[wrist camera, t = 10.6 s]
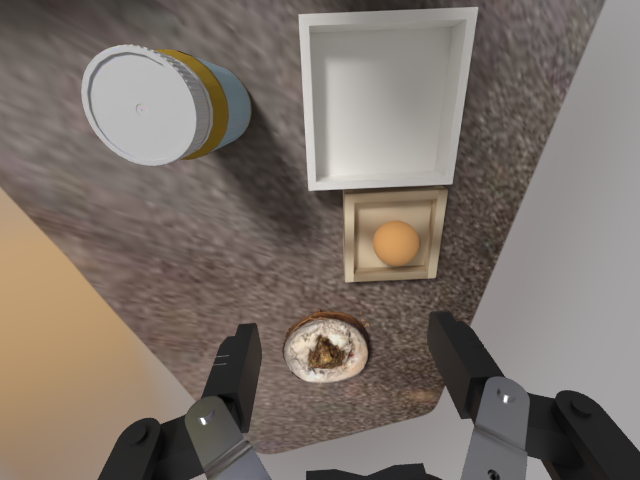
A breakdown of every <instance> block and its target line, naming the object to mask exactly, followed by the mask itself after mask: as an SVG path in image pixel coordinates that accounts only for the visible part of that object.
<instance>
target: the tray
mask: <svg viewBox="0 0 640 480" xmlns="http://www.w3.org/2000/svg"><path fill="white" fill-rule="evenodd" d="M447 195H448V189H446V188H445V187H443V186H442V185H424V186H401V187H379V188H357V189H343V269H344V278H345V282H362V281H383V280H405V279H426V278H436V272H437V265H438V258H439V251H440V244H441V237H442V230H443V223H444V216H445V209H446V202H447ZM390 221H402V222H405V223H407V224H409V225H410V226H412V227H413V228H414V229H415V231H416V232H417V235H418V237H419V249H418V252H417V254H416V256H415V257H414V258H413V259H412V260H411V261H410V262H408V263H406V264H404V265H400V266H393V265H388V264H386V263H384V262H382V261H381V260H380V259H379V258H378V257H377V255H376V254H375V252H374V249H373V238H374V235H375V233H376V231H377V230H378V228H379V227H380V226H382V225H383V224H385V223H387V222H390Z"/></svg>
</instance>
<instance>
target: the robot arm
mask: <svg viewBox="0 0 640 480" xmlns="http://www.w3.org/2000/svg"><path fill="white" fill-rule="evenodd" d="M427 342H428V347H429V350H430V352H431V355H432V357H433V359H434V361H435V363H436V365H437V368H438V370H439V372H440V374H441V376H442V378H443V381H444V383H445V385H446V387H447V389H448V391H449V393H450V396H451V398H452V400H453V402H454V404H455V407H456V409H457V411H458V413H459V415H460V417H461V419H467V418H468V419H469V418H471V419H472V421H473V423H474V429H473V433H472V437H471V441H470V445H469V449H468V453H467V457H466V460H465V464H464V468H463V472H462V476H461V480H525V478H526V467H527V456H530V457H534V458H537V459H541V461H542V462H543V465H544V466H545V468H546V470H547V472H548V473H549V475H550V477H551V479H552V480H640V452H639V450H638V449H637V448H636V447H635V446H634V445H633V443H632V442H631V441H630V440H629V439H628V438H627V436H626V435H625V434H624V433H623V432H622V431H621V429H620V428H619V427H618V426H617V425H616V424H615V422H614V421H613V420H612V419H611V418H610V417H609V415H608V414H607V413H606V412H605V411H604V410H603V408H602V407H601V406H600V405H599V404H597V403H596V402H595V401H594V400H592V399H591V398H589V397H588V396H585V395H584V394H581V393H579V392H575V391H570V390H564V391H561V392H559V393H558V394H557V395H556V398H555V399H554V398H549V397H544V396H539V395H534V394H531V393H528V392H526V391H525V390H524V389H523V387H521V386H520V385H519V384H518V383H516V382H515V381H513V380H511V379H508V378H506V377H505V376H504V375H503V373H502V372H501V370H500V369H499V367H498V366H497V364H496V363H495V362H494V360H493V358H492V357H491V355H490V354H489V353H488V351H487V350H486V348H484V345H483V344H482V342H481V341H480V340H479V338H478V337H477V335H476V334H475V332H474V331H473V329H472V328H470V327H469V326H468V325H467V324H465V323H464V322H463V321H457V322H456V320H455V319H454V317H453V316H452V314H451V313H450V311H448V310H447V311H432V312H431V313H430V318H429V326H428V334H427ZM261 360H262V349H261V343H260V338H259V333H258V329H257V325H256V323H250V324H239V326H238V328H237V332H236V335H235V336H231V337H227V338H226V339H225V340H224V341H223V343H222V344H221V345H220V347H219V350H218V352H217V355H216V358H215V361H214V365H213V366H212V369H211V372H210V375H209V378H208V380H207V383H206V386H205V389H204V392H203V394H202V397H201V399H200V400H198V401H197V402H195V403H194V404H193V405H192V406H191V407H190V409H189V410H188V412H187V414H185V415H184V416H181V417H179V418H176V419H174V420H171V421H168V422H165V423H163V424H159V422H158V421H157V420H156V419H154V418H144V419H141V420H138V421H136V422H134V423H133V424H131V425H130V426H129V427H128V428H126V429H125V430H124V431H123V432H122V434H121V435H120V436H119V438H118V440H117V442H116V444H115V446H114V448H113V450H112V452H111V454H110V456H109V458H108V460H107V462H106V464H105V466H104V468H103V470H102V472H101V474H100V476H99V478H98V480H190V479H192V478H194V477H196V476H199V475H201V474H203V473H205V475H206V477H207V480H271V478H270V476H269V474H268V473H267V471H266V469H265V468H264V466H263V464H262V462H261V461H260V459H259V457H258V456H257V454H256V452H255V450H254V449H253V447H252V445H251V444H250V442H249V441H246V440H245V438H244V437H243V435H242V433H248V432H249V426H250V421H251V415H252V410H253V404H254V399H255V394H256V388H257V383H258V377H259V372H260V366H261ZM306 480H442V479H440V478H438V477H435V476H433V475H430V474H426V472H425V468H424V465H423V463H420V464H405V465H394V466H391V467H389V468H386V469H383V470H381V471H378V472H376V473H373V474H371V475H368V476H362V475H358V474H353V473H349V472H345V471H340V470H336V469H331V470H316V471H306Z"/></svg>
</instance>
